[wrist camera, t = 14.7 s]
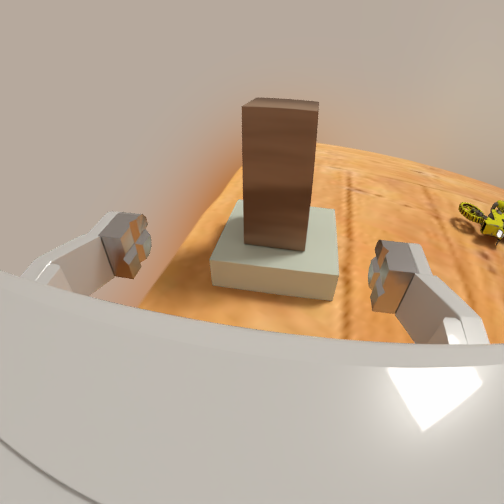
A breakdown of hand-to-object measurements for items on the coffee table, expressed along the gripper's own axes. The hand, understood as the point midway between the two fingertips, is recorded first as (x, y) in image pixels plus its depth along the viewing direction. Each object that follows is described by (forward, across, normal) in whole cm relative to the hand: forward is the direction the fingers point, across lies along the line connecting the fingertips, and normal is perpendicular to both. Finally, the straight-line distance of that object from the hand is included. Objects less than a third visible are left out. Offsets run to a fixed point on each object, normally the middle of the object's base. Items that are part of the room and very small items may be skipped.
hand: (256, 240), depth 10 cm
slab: (+12, 0, -11) cm, 16 cm away
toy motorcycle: (+21, +28, -10) cm, 36 cm away
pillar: (+12, 0, -8) cm, 14 cm away
